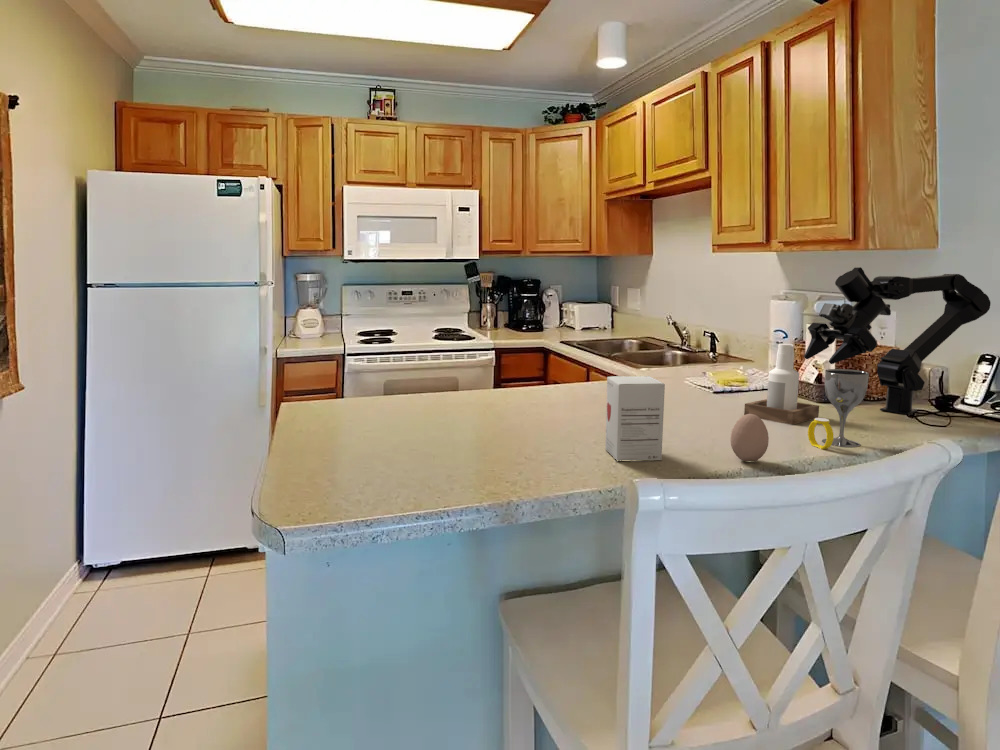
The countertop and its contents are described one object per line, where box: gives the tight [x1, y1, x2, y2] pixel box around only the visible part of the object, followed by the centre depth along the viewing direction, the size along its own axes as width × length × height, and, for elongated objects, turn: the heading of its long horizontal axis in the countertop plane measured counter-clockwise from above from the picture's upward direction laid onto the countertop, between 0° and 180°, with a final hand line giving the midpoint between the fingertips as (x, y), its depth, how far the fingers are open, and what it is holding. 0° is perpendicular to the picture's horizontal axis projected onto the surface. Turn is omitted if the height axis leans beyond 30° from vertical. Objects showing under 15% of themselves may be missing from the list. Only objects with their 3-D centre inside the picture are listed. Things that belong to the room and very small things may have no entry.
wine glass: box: [821, 368, 870, 448], centre depth 134 cm, size 8×8×15 cm
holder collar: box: [743, 398, 820, 425], centre depth 160 cm, size 12×12×3 cm
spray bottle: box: [766, 343, 800, 411], centre depth 158 cm, size 7×7×18 cm
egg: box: [730, 414, 770, 462], centre depth 120 cm, size 7×7×9 cm
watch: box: [807, 417, 834, 450], centre depth 131 cm, size 6×3×6 cm, turn 12°
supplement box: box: [605, 375, 666, 461], centre depth 124 cm, size 9×9×15 cm
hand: (817, 360), depth 159 cm, fingers open, 9 cm apart
